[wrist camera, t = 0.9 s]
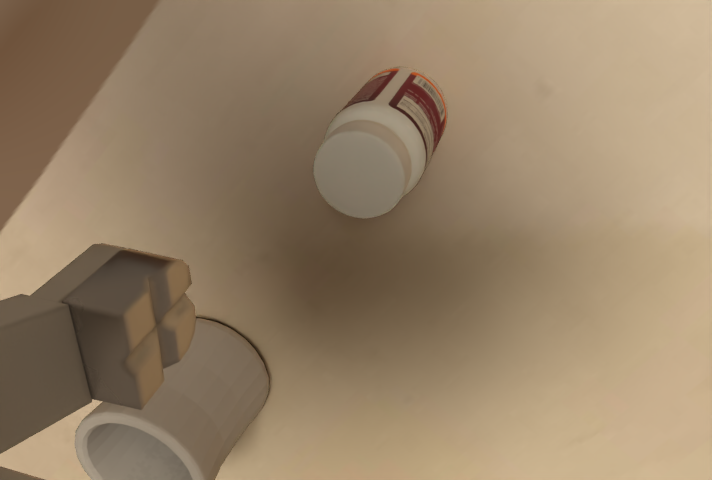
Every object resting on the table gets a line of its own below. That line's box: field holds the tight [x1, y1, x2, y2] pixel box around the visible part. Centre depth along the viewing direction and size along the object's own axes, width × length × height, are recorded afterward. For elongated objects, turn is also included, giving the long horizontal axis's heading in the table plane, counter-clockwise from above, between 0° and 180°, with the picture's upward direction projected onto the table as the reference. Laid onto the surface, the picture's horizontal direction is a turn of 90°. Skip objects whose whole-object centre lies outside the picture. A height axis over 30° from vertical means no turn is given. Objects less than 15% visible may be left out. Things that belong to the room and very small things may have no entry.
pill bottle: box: [313, 67, 448, 218], centre depth 31 cm, size 5×5×8 cm
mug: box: [75, 318, 269, 480], centre depth 45 cm, size 12×9×10 cm
